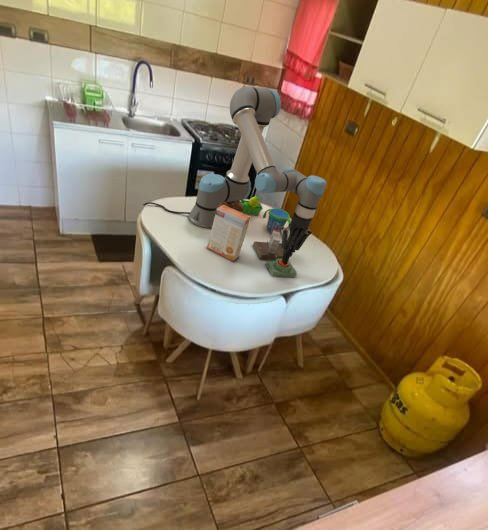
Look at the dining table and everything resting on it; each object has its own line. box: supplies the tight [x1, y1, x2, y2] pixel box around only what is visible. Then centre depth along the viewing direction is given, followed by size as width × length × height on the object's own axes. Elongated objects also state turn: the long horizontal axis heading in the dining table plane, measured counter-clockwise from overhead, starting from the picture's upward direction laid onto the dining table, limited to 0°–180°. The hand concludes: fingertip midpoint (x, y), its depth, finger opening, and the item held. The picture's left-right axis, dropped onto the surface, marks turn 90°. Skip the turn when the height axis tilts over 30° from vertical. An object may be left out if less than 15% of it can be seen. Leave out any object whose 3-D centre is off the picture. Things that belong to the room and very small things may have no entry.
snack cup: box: [262, 207, 291, 233], centre depth 194 cm, size 16×10×10 cm
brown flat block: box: [252, 240, 284, 261], centre depth 177 cm, size 14×13×3 cm
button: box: [278, 260, 289, 267], centre depth 165 cm, size 4×4×2 cm
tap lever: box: [268, 230, 281, 254], centre depth 174 cm, size 9×3×8 cm, turn 169°
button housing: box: [265, 259, 298, 278], centre depth 166 cm, size 11×8×4 cm
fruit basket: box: [241, 195, 264, 216], centre depth 205 cm, size 11×9×11 cm
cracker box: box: [206, 205, 252, 262], centre depth 165 cm, size 14×6×21 cm, turn 56°
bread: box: [219, 201, 243, 213], centre depth 203 cm, size 19×11×10 cm, turn 19°
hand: (284, 262), depth 164 cm, fingers closed
